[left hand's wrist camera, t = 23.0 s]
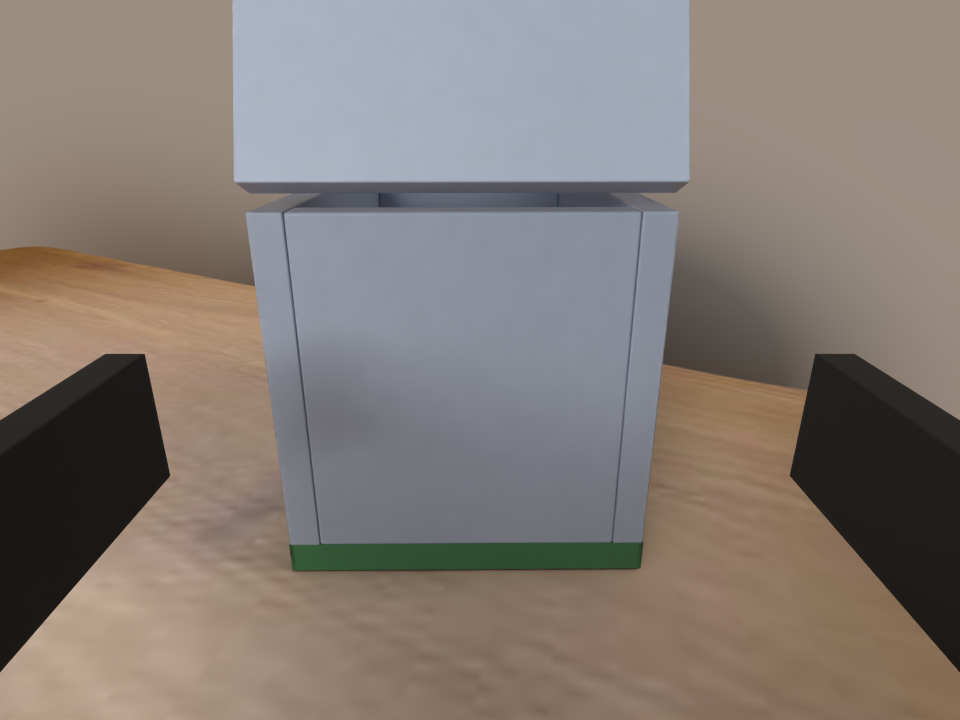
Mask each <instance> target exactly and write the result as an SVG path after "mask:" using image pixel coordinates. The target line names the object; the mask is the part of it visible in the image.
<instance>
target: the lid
mask: <svg viewBox="0 0 960 720" xmlns="http://www.w3.org/2000/svg"><path fill="white" fill-rule="evenodd" d="M233 121H234V122H233V124H234V125H233V126H234V182H235V183H236V184H237V185H239V186H240V187H242V188H243V189H244V190H246V191H247V192H249V193H675V192H677V191H679V190H680V189H681V188H682V187H683V186H685V185H686V184H687V183H688V182H689V181H690V0H233Z"/></svg>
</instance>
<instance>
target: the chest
mask: <svg viewBox="0 0 960 720" xmlns="http://www.w3.org/2000/svg"><path fill="white" fill-rule="evenodd" d="M679 214H680V213H679V212H678V211H676V210H674V209H672V208H670V207H667V206H665V205H663V204H661V203H659V202H656V201H654V200H652V199H650V198H648V197H645V196H643V195H641V194H639V193H293V194H290V195H288V196H285V197H283V198H280V199H278V200H276V201H273V202H271V203H268V204H266V205H263V206H261V207H258V208H256V209H254V210H251V211H249V212H247V213H246V220H247V228H248V235H249V243H250V250H251V258H252V265H253V272H254V280H255V287H256V295H257V302H258V309H259V317H260V324H261V332H262V339H263V346H264V354H265V361H266V369H267V376H268V383H269V391H270V398H271V406H272V413H273V421H274V428H275V435H276V443H277V450H278V458H279V465H280V472H281V480H282V487H283V495H284V502H285V509H286V517H287V524H288V532H289V539H290V545H289V546H290V554H291V561H292V569H293V570H443V569H596V568H640V567H641V558H642V549H643V532H644V523H645V514H646V505H647V497H648V488H649V479H650V470H651V461H652V452H653V444H654V435H655V426H656V417H657V408H658V400H659V391H660V382H661V373H662V364H663V355H664V347H665V338H666V329H667V320H668V311H669V302H670V294H671V285H672V276H673V267H674V258H675V250H676V241H677V232H678V223H679Z"/></svg>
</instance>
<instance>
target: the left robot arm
mask: <svg viewBox="0 0 960 720" xmlns="http://www.w3.org/2000/svg"><path fill="white" fill-rule="evenodd" d="M169 476H170V473H169V468H168V463H167V458H166V454H165V449H164V444H163V439H162V435H161V430H160V425H159V420H158V416H157V411H156V406H155V401H154V397H153V392H152V387H151V382H150V377H149V373H148V368H147V363H146V358H145V354H105V355H103V356H102V357H100V358H98V359H97V360H95V361H94V362H92V363H90V364H89V365H87V366H86V367H84V368H82V369H81V370H79V371H78V372H76V373H75V374H73V375H71V376H70V377H68V378H67V379H65V380H63V381H62V382H60V383H59V384H57V385H56V386H54V387H52V388H51V389H49V390H48V391H46V392H44V393H43V394H41V395H40V396H38V397H37V398H35V399H33V400H32V401H30V402H29V403H27V404H25V405H24V406H22V407H21V408H19V409H18V410H16V411H14V412H13V413H11V414H10V415H8V416H6V417H5V418H3V419H2V420H0V672H1V671H2V670H3V668H4V667H5V666H6V665H7V664H8V663H9V661H10V660H11V659H12V658H13V657H14V656H15V654H16V653H17V652H18V651H19V650H20V649H21V648H22V646H23V645H24V644H25V643H26V642H27V641H28V639H29V638H30V637H31V636H32V635H33V634H34V633H35V631H36V630H37V629H38V628H39V627H40V626H41V624H42V623H43V622H44V621H45V620H46V619H47V618H48V616H49V615H50V614H51V613H52V612H53V611H54V609H55V608H56V607H57V606H58V605H59V604H60V602H61V601H62V600H63V599H64V598H65V597H66V596H67V594H68V593H69V592H70V591H71V590H72V589H73V587H74V586H75V585H76V584H77V583H78V582H79V581H80V579H81V578H82V577H83V576H84V575H85V574H86V572H87V571H88V570H89V569H90V568H91V567H92V565H93V564H94V563H95V562H96V561H97V560H98V559H99V557H100V556H101V555H102V554H103V553H104V552H105V550H106V549H107V548H108V547H109V546H110V545H111V544H112V542H113V541H114V540H115V539H116V538H117V537H118V535H119V534H120V533H121V532H122V531H123V530H124V528H125V527H126V526H127V525H128V524H129V523H130V522H131V520H132V519H133V518H134V517H135V516H136V515H137V513H138V512H139V511H140V510H141V509H142V508H143V507H144V505H145V504H146V503H147V502H148V501H149V500H150V498H151V497H152V496H153V495H154V494H155V493H156V492H157V490H158V489H159V488H160V487H161V486H162V485H163V483H164V482H165V481H166V480H167V479H168V478H169ZM790 476H791V478H792V479H793V480H794V481H795V482H796V483H797V485H798V486H799V487H800V488H801V489H802V490H803V492H804V493H805V494H806V495H807V496H808V497H809V498H810V500H811V501H812V502H813V503H814V504H815V505H816V507H817V508H818V509H819V510H820V511H821V512H822V513H823V515H824V516H825V517H826V518H827V519H828V520H829V522H830V523H831V524H832V525H833V526H834V527H835V528H836V530H837V531H838V532H839V533H840V534H841V535H842V537H843V538H844V539H845V540H846V541H847V542H848V544H849V545H850V546H851V547H852V548H853V549H854V550H855V552H856V553H857V554H858V555H859V556H860V557H861V559H862V560H863V561H864V562H865V563H866V564H867V565H868V567H869V568H870V569H871V570H872V571H873V572H874V574H875V575H876V576H877V577H878V578H879V579H880V581H881V582H882V583H883V584H884V585H885V586H886V587H887V589H888V590H889V591H890V592H891V593H892V594H893V596H894V597H895V598H896V599H897V600H898V601H899V602H900V604H901V605H902V606H903V607H904V608H905V609H906V611H907V612H908V613H909V614H910V615H911V616H912V618H913V619H914V620H915V621H916V622H917V623H918V624H919V626H920V627H921V628H922V629H923V630H924V631H925V633H926V634H927V635H928V636H929V637H930V638H931V639H932V641H933V642H934V643H935V644H936V645H937V646H938V648H939V649H940V650H941V651H942V652H943V653H944V654H945V656H946V657H947V658H948V659H949V660H950V661H951V663H952V664H953V665H954V666H955V667H956V668H957V670H958V671H959V672H960V420H958V419H957V418H955V417H953V416H952V415H950V414H949V413H947V412H946V411H944V410H942V409H941V408H939V407H938V406H936V405H935V404H933V403H931V402H930V401H928V400H927V399H925V398H923V397H922V396H920V395H919V394H917V393H916V392H914V391H912V390H911V389H909V388H908V387H906V386H904V385H903V384H901V383H900V382H898V381H896V380H895V379H893V378H892V377H890V376H889V375H887V374H885V373H884V372H882V371H881V370H879V369H877V368H876V367H874V366H873V365H871V364H870V363H868V362H866V361H865V360H863V359H862V358H860V357H858V356H857V355H855V354H815V358H814V363H813V368H812V373H811V377H810V382H809V387H808V392H807V397H806V401H805V406H804V411H803V416H802V420H801V425H800V430H799V435H798V439H797V444H796V449H795V454H794V458H793V463H792V468H791V473H790Z"/></svg>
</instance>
